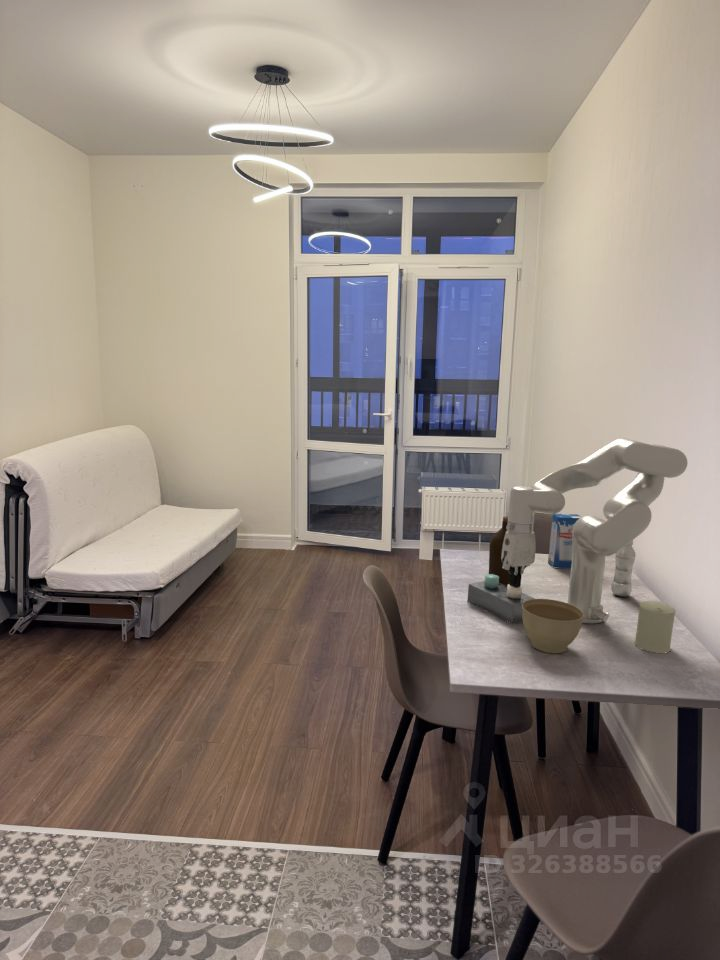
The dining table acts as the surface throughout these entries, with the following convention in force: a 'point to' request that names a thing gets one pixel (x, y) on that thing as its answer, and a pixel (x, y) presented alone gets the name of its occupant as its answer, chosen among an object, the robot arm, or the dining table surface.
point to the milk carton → (562, 540)
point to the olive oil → (498, 554)
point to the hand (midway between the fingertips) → (514, 586)
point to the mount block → (497, 601)
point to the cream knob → (514, 592)
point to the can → (654, 626)
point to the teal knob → (491, 581)
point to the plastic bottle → (623, 571)
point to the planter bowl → (551, 624)
